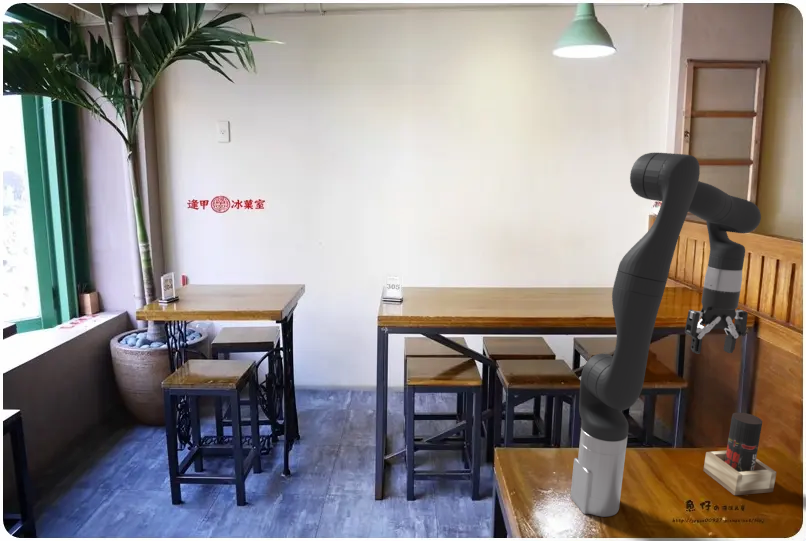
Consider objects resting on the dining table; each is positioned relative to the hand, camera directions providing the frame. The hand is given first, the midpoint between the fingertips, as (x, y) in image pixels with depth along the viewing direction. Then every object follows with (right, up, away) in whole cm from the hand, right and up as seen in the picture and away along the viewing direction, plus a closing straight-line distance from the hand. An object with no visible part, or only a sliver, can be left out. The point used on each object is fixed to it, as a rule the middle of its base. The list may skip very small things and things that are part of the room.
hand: (712, 352), depth 132 cm
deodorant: (+4, -29, -3) cm, 30 cm away
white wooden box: (+5, -30, -2) cm, 30 cm away
